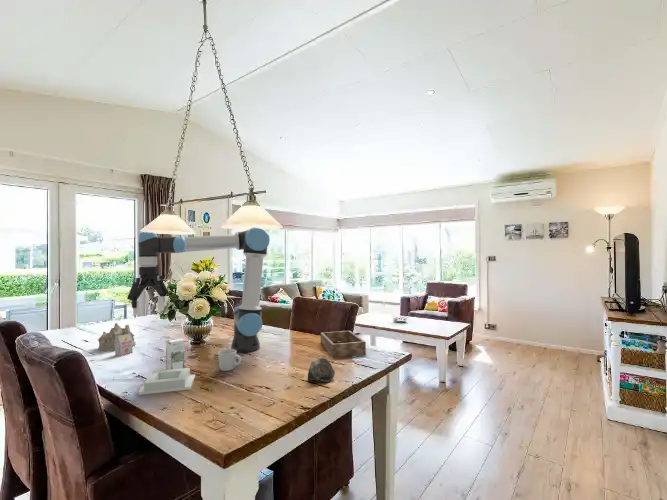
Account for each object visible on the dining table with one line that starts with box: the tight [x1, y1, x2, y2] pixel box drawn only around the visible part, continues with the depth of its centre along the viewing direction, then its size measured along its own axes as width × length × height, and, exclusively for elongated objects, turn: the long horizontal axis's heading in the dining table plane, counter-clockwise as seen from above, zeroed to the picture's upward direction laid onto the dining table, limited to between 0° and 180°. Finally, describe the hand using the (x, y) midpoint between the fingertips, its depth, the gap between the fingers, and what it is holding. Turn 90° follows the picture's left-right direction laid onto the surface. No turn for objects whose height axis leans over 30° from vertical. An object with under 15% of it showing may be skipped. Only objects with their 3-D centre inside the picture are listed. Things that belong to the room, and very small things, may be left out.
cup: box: [217, 348, 242, 372], centre depth 155 cm, size 11×8×8 cm
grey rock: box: [97, 322, 137, 352], centre depth 194 cm, size 16×16×15 cm
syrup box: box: [165, 337, 185, 370], centre depth 152 cm, size 6×6×14 cm
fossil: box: [307, 357, 336, 384], centre depth 142 cm, size 11×9×10 cm
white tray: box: [137, 367, 196, 396], centre depth 137 cm, size 18×14×4 cm
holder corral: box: [320, 330, 367, 358], centre depth 187 cm, size 17×26×6 cm, turn 15°
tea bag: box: [114, 334, 134, 357], centre depth 181 cm, size 4×7×10 cm, turn 152°
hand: (149, 312), depth 159 cm, fingers open, 13 cm apart
